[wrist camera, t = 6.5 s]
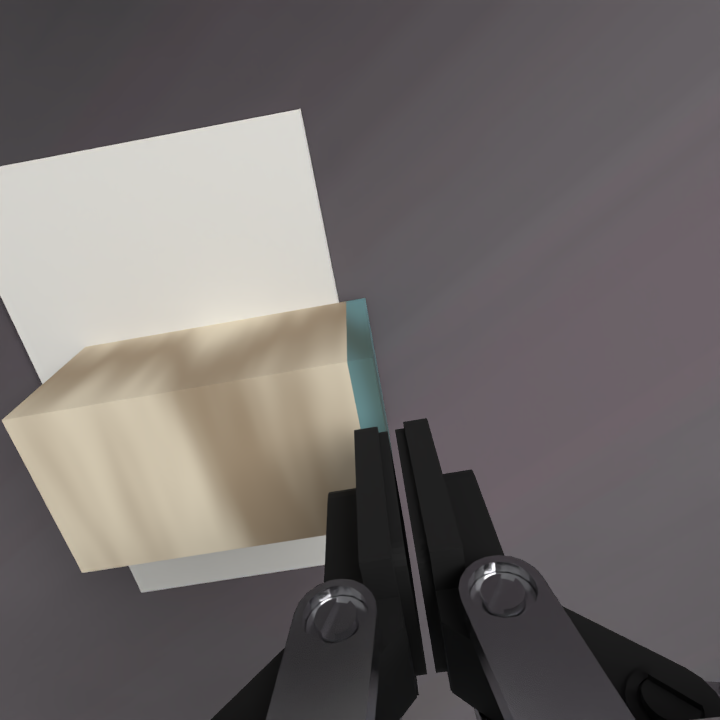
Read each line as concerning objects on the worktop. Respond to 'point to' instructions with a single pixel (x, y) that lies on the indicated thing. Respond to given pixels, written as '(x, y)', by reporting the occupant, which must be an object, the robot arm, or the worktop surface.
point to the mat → (167, 263)
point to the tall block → (202, 435)
